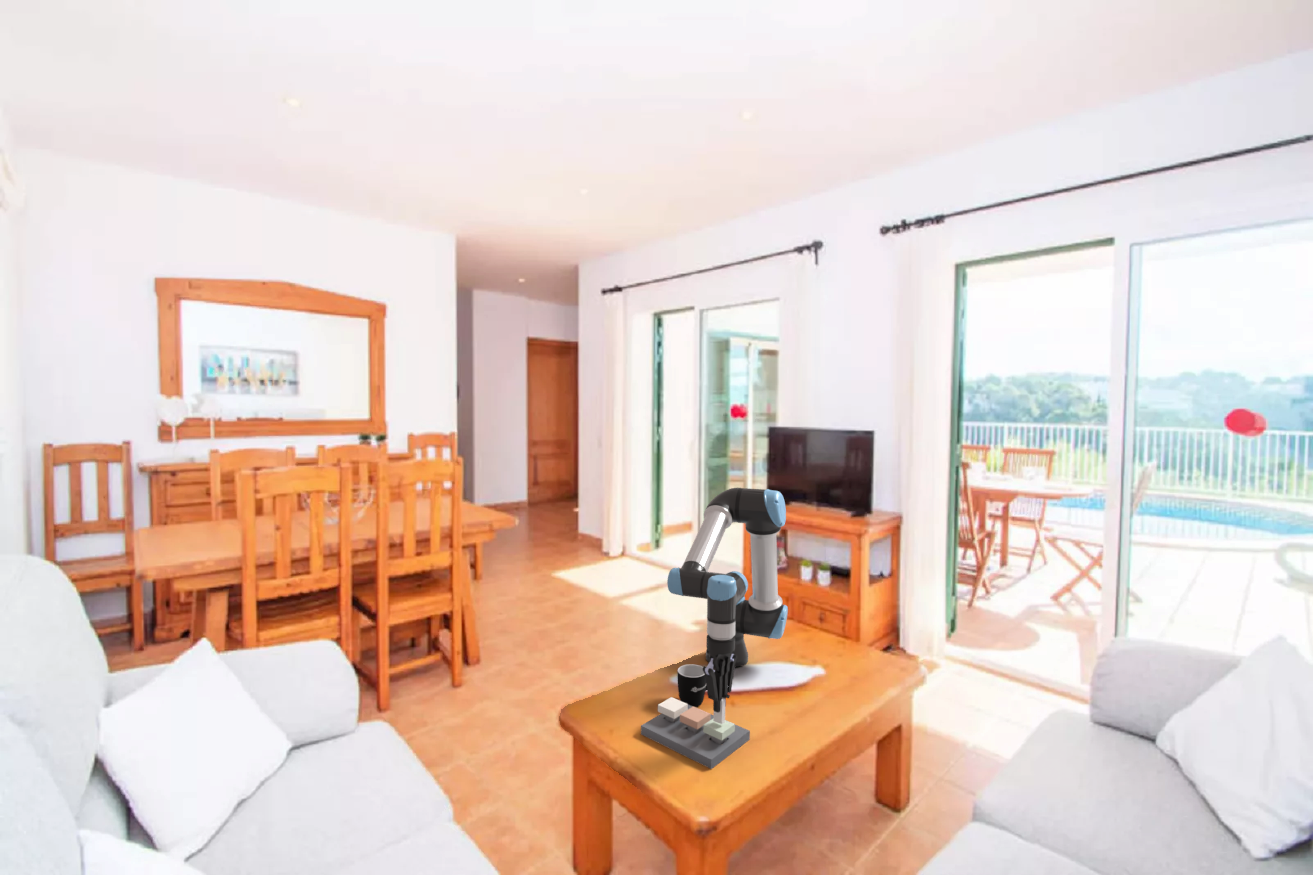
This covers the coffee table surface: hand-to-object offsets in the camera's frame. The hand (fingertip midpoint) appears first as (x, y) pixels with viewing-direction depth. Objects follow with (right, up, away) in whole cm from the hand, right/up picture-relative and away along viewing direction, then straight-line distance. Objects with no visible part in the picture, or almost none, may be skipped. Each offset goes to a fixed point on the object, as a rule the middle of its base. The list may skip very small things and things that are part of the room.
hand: (719, 721), depth 163 cm
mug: (-5, -6, +26) cm, 27 cm away
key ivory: (-12, -5, +11) cm, 17 cm away
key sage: (0, -5, 0) cm, 5 cm away
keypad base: (-6, -7, +6) cm, 11 cm away
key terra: (-6, -5, +6) cm, 10 cm away
